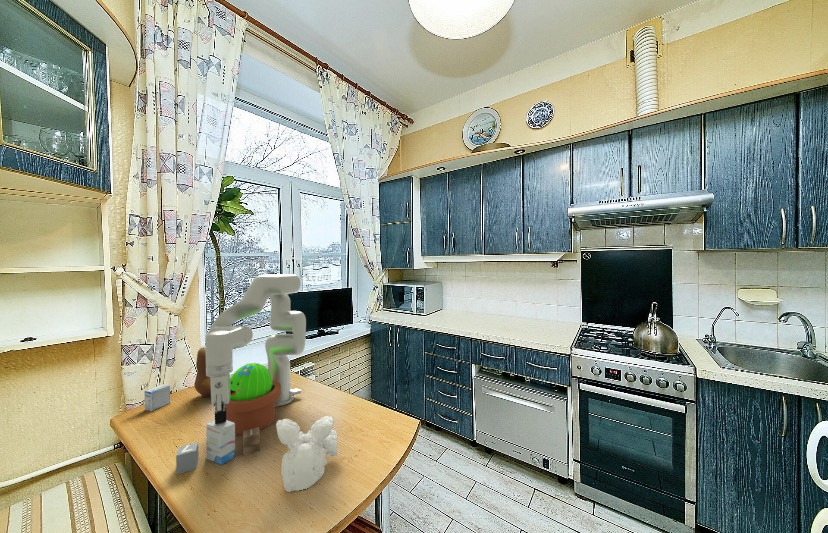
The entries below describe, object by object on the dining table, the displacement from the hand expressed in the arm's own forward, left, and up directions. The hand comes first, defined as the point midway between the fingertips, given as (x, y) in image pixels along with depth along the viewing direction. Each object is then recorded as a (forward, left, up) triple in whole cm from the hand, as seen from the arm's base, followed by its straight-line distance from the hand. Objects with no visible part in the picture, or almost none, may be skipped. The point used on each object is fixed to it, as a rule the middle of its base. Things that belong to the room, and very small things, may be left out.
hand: (220, 421), depth 99 cm
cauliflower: (-25, +20, -12) cm, 34 cm away
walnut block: (-9, 0, -12) cm, 15 cm away
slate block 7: (+9, 0, -12) cm, 15 cm away
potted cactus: (-9, -19, -12) cm, 24 cm away
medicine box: (+28, -56, -12) cm, 64 cm away
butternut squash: (+8, -57, -12) cm, 59 cm away
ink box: (0, 0, -12) cm, 12 cm away
